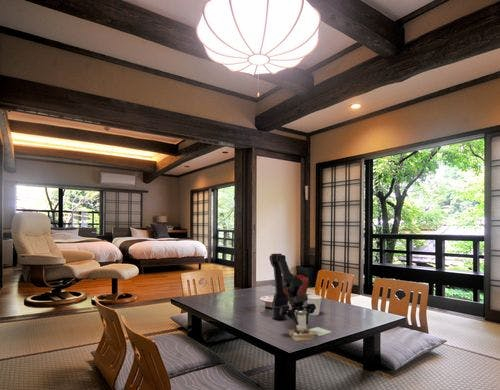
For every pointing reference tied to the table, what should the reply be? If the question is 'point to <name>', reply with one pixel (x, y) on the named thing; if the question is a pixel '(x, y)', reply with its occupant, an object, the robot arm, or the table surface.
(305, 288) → the plant pot
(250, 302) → the table surface
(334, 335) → the table surface
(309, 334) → the bore block
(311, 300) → the cup
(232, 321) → the table surface
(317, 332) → the pad
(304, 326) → the salt shaker
